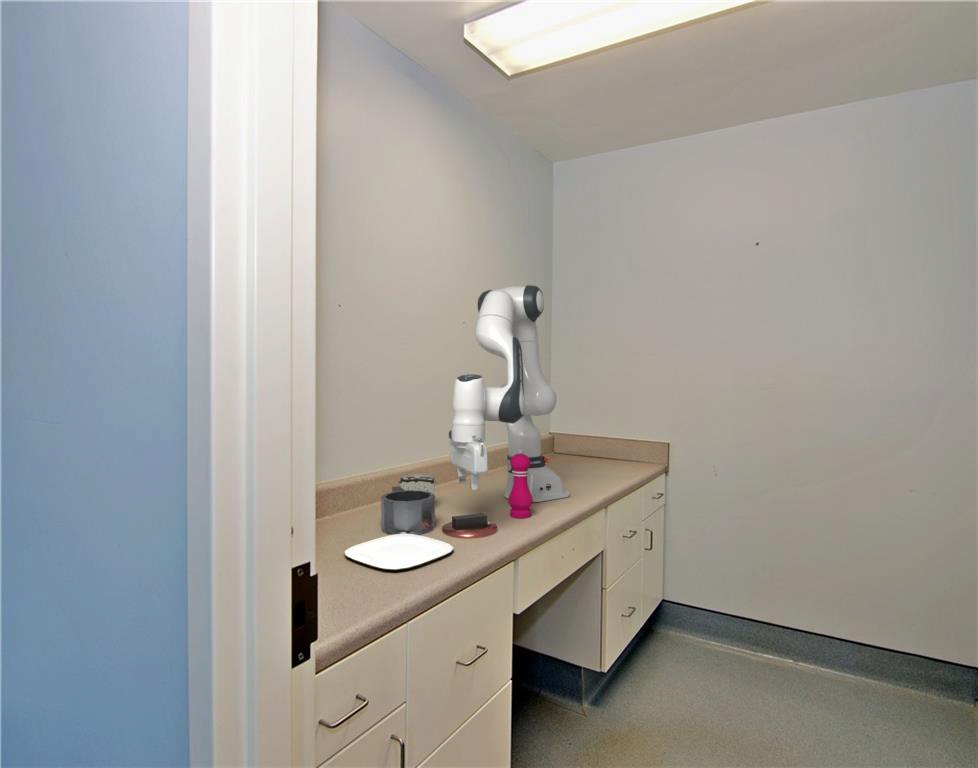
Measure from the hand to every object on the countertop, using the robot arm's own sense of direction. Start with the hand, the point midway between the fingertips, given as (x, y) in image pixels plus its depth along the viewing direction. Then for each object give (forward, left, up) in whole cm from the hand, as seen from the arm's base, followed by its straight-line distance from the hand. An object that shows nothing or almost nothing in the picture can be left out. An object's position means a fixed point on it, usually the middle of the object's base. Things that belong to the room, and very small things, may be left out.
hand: (468, 485), depth 150 cm
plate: (+22, +12, -13) cm, 28 cm away
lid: (0, 0, -13) cm, 13 cm away
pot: (+15, -12, -12) cm, 23 cm away
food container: (+5, -30, -12) cm, 33 cm away
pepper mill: (-19, -8, -12) cm, 24 cm away
